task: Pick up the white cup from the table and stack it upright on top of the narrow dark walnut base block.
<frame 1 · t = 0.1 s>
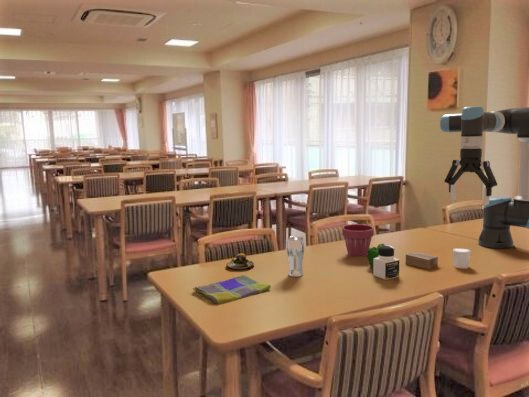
hand: (469, 202, 176), 28 cm above the table, tool pointing down, fingers open, 13 cm apart
walnut base block: (421, 264, 191), on the table
dish towel: (231, 292, 166), on the table
beer glass: (296, 275, 183), on the table
plant pot: (357, 254, 210), on the table
bell pepper: (377, 267, 190), on the table
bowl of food: (240, 268, 196), on the table
medicine bottle: (386, 276, 178), on the table
white cup: (461, 266, 188), on the table
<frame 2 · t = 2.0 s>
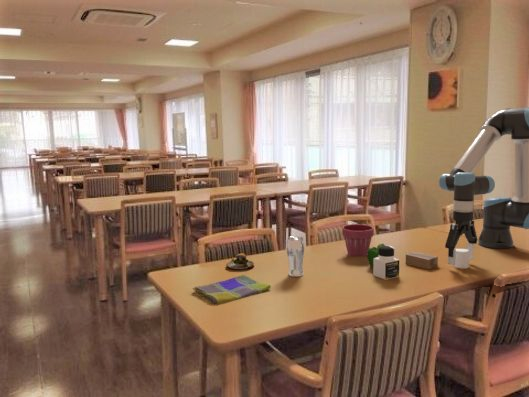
hand: (460, 261, 187), 2 cm above the table, tool pointing down, fingers open, 13 cm apart
nothing on the table moved.
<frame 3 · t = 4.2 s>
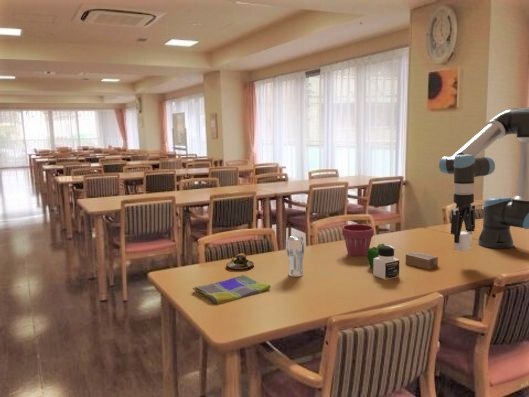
hand: (462, 248, 187), 8 cm above the table, tool pointing down, fingers closed on white cup, 7 cm apart
white cup: (462, 249, 187), point 7 cm above the table, touching gripper
everything else where it was.
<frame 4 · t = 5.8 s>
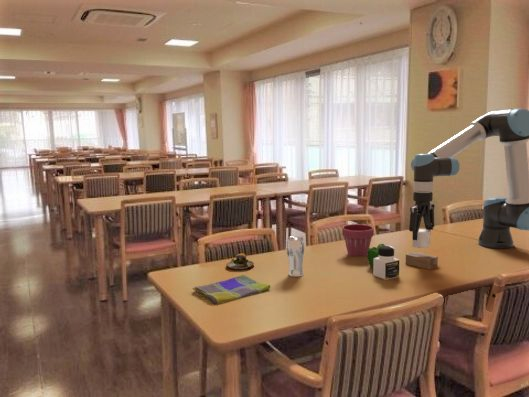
hand: (421, 245, 190), 8 cm above the table, tool pointing down, fingers closed on white cup, 7 cm apart
white cup: (421, 247, 190), point 8 cm above the table, touching gripper
everything else where it was.
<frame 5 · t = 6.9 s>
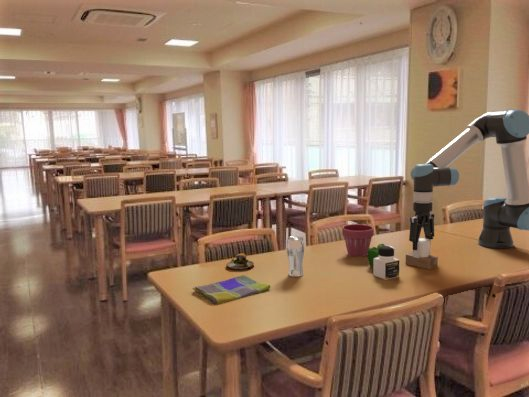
hand: (421, 255, 191), 4 cm above the table, tool pointing down, fingers closed on white cup, 7 cm apart
white cup: (421, 256, 191), point 4 cm above the table, touching gripper, walnut base block
everything else where it was.
when the fingers open (4 cm above the table, at t = 7.4 s): white cup stays where it is, resting on walnut base block.
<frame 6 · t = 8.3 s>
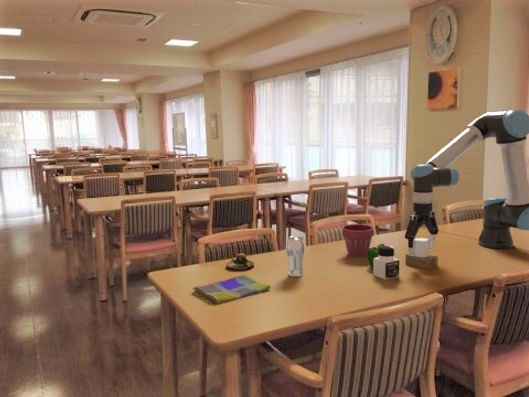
hand: (421, 252, 191), 6 cm above the table, tool pointing down, fingers open, 13 cm apart
white cup: (421, 256, 191), point 4 cm above the table, touching walnut base block
everything else where it was.
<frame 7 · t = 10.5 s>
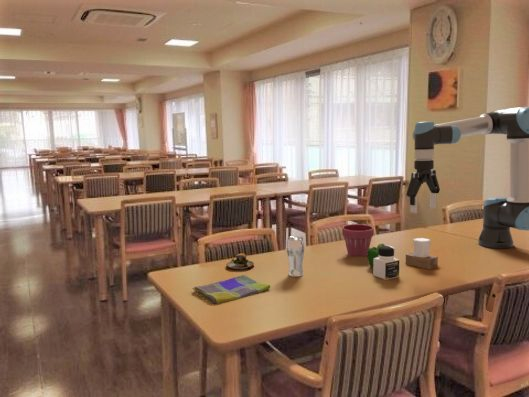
hand: (423, 210, 190), 23 cm above the table, tool pointing down, fingers open, 13 cm apart
nothing on the table moved.
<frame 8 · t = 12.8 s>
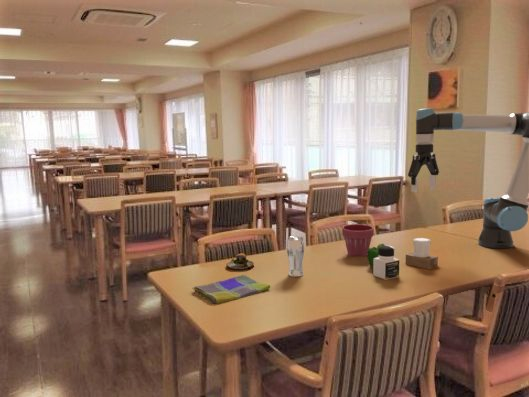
hand: (423, 190, 207), 29 cm above the table, tool pointing down, fingers open, 13 cm apart
nothing on the table moved.
at the end: white cup inside the target area on the walnut base block (0.0 cm from its centre), point 3.8 cm above the walnut base block's base; white cup tilted 0°; the gripper is holding nothing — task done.
